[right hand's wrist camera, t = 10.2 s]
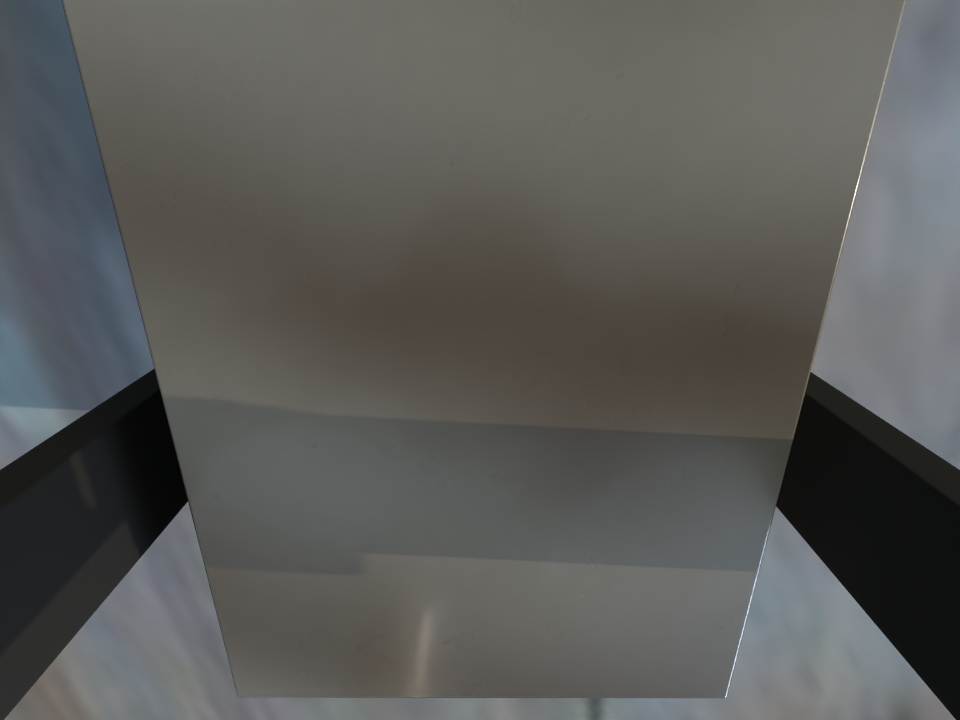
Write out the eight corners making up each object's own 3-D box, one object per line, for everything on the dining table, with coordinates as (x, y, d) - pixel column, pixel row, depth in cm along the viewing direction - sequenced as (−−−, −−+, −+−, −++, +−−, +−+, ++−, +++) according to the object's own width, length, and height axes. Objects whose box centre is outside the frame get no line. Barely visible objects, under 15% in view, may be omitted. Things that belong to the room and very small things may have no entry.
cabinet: (304, -121, 15) (-152, -823, 4) (660, -121, 15) (1124, -828, 4) (358, 425, 21) (236, 698, 11) (604, 425, 21) (727, 700, 11)
